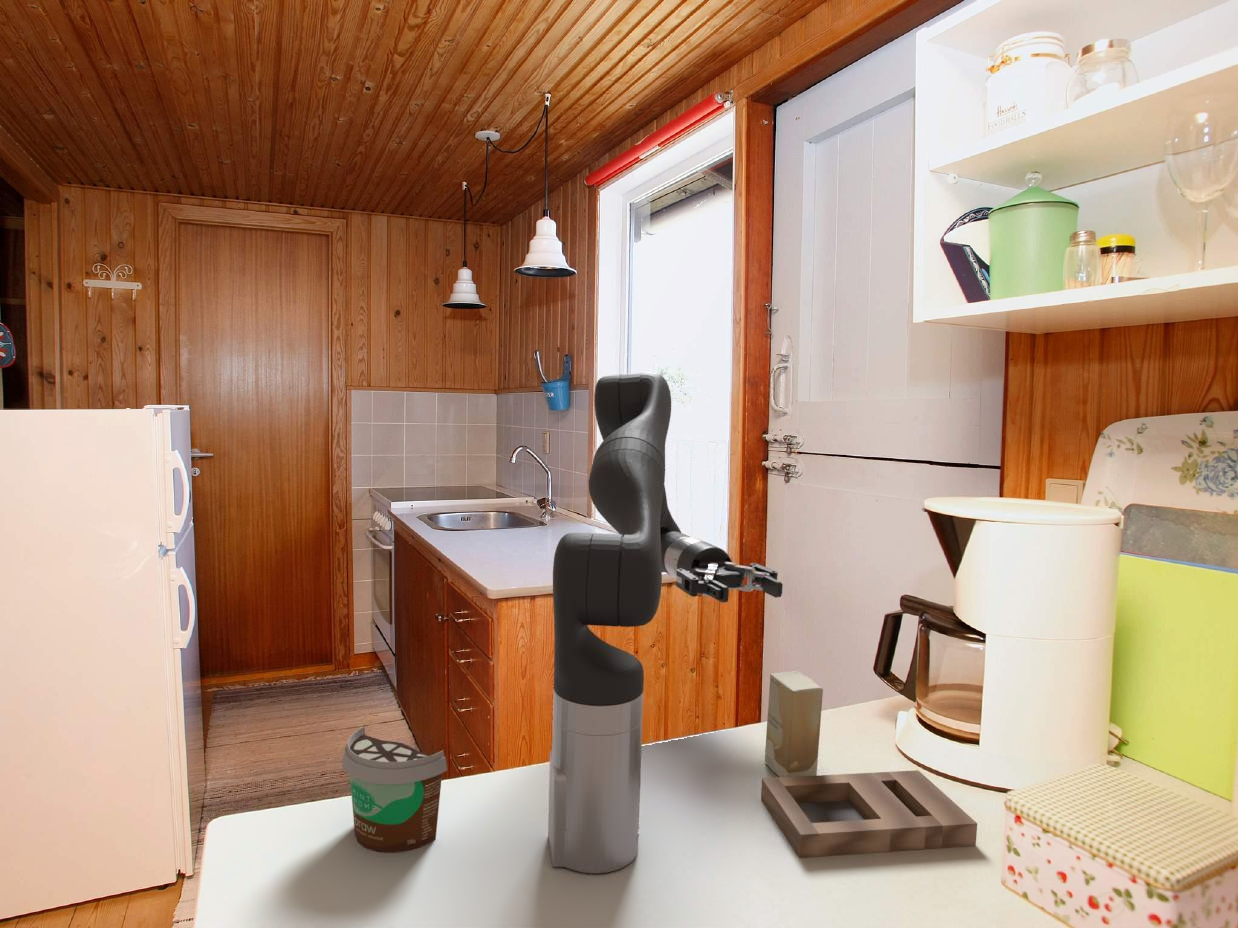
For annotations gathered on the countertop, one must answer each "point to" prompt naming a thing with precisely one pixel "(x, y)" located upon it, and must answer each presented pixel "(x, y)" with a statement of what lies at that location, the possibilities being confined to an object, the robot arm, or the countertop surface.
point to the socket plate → (865, 813)
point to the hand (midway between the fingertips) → (753, 592)
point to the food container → (393, 793)
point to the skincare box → (793, 724)
